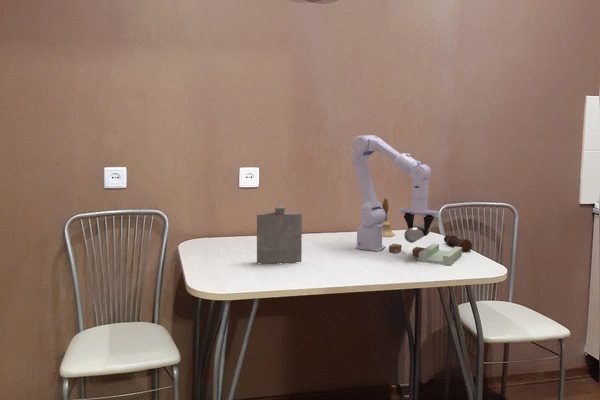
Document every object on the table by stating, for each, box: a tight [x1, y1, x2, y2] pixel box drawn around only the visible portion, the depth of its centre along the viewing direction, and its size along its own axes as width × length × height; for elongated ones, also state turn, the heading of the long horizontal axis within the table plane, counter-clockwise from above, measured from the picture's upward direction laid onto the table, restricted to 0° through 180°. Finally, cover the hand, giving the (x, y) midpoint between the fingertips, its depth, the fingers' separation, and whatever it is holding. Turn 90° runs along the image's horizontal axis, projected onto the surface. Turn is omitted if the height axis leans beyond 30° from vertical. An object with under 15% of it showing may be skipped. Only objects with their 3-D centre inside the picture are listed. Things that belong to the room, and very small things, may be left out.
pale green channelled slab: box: [418, 243, 463, 266], centre depth 210 cm, size 11×16×3 cm
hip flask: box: [256, 205, 303, 265], centre depth 200 cm, size 16×4×20 cm, turn 101°
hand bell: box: [382, 198, 395, 238], centre depth 246 cm, size 8×8×16 cm
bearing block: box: [388, 243, 426, 257], centre depth 216 cm, size 13×4×2 cm, turn 60°
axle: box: [403, 221, 431, 244], centre depth 209 cm, size 14×5×5 cm, turn 149°
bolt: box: [443, 234, 473, 253], centre depth 226 cm, size 6×5×15 cm
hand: (418, 234), depth 210 cm, fingers closed on axle, 5 cm apart
